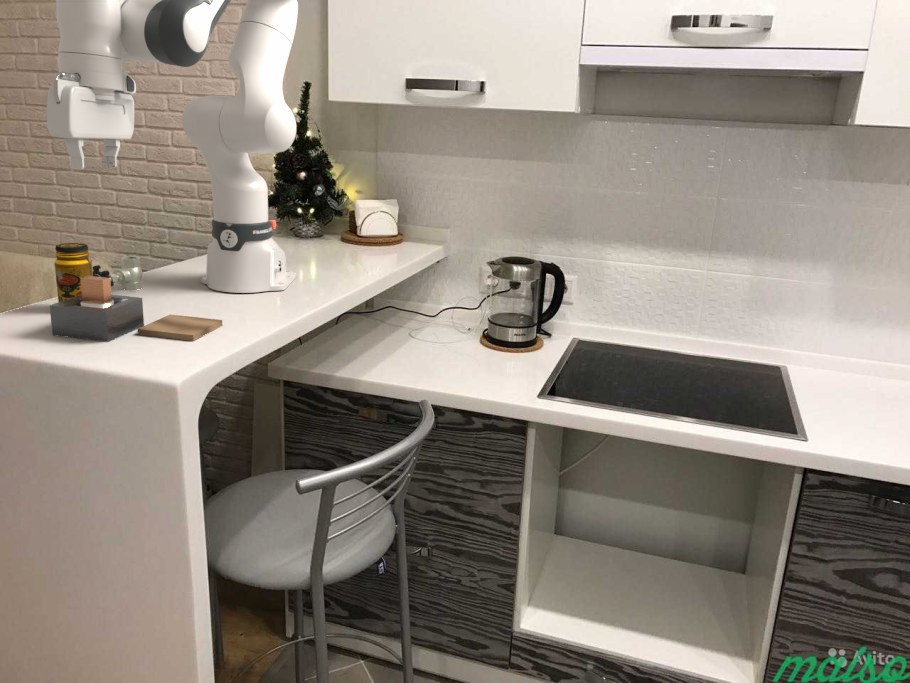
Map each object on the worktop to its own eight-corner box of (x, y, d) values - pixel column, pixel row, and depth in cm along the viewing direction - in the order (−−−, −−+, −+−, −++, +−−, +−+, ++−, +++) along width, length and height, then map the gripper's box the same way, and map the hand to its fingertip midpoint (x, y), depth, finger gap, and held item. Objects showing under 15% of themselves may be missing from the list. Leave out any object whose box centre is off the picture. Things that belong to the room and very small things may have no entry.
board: (170, 319, 135) (170, 314, 134) (222, 325, 133) (222, 320, 133) (137, 334, 125) (137, 328, 125) (193, 341, 124) (193, 335, 123)
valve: (125, 285, 158) (83, 297, 147) (123, 254, 156) (80, 264, 145) (152, 289, 156) (111, 301, 145) (150, 257, 154) (109, 267, 143)
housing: (91, 319, 132) (89, 292, 130) (144, 325, 130) (142, 297, 129) (52, 335, 122) (49, 305, 121) (108, 341, 121) (105, 311, 119)
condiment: (58, 315, 133) (51, 248, 130) (53, 304, 140) (47, 240, 137) (103, 312, 137) (97, 247, 134) (96, 301, 144) (91, 239, 141)
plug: (95, 325, 129) (91, 273, 127) (122, 328, 128) (118, 276, 126) (76, 333, 124) (71, 279, 122) (103, 336, 124) (99, 282, 121)
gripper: (76, 71, 105) (80, 172, 109) (140, 83, 125) (142, 168, 129) (31, 67, 106) (37, 168, 109) (103, 80, 125) (106, 165, 129)
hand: (94, 168), depth 119 cm, fingers open, 8 cm apart
